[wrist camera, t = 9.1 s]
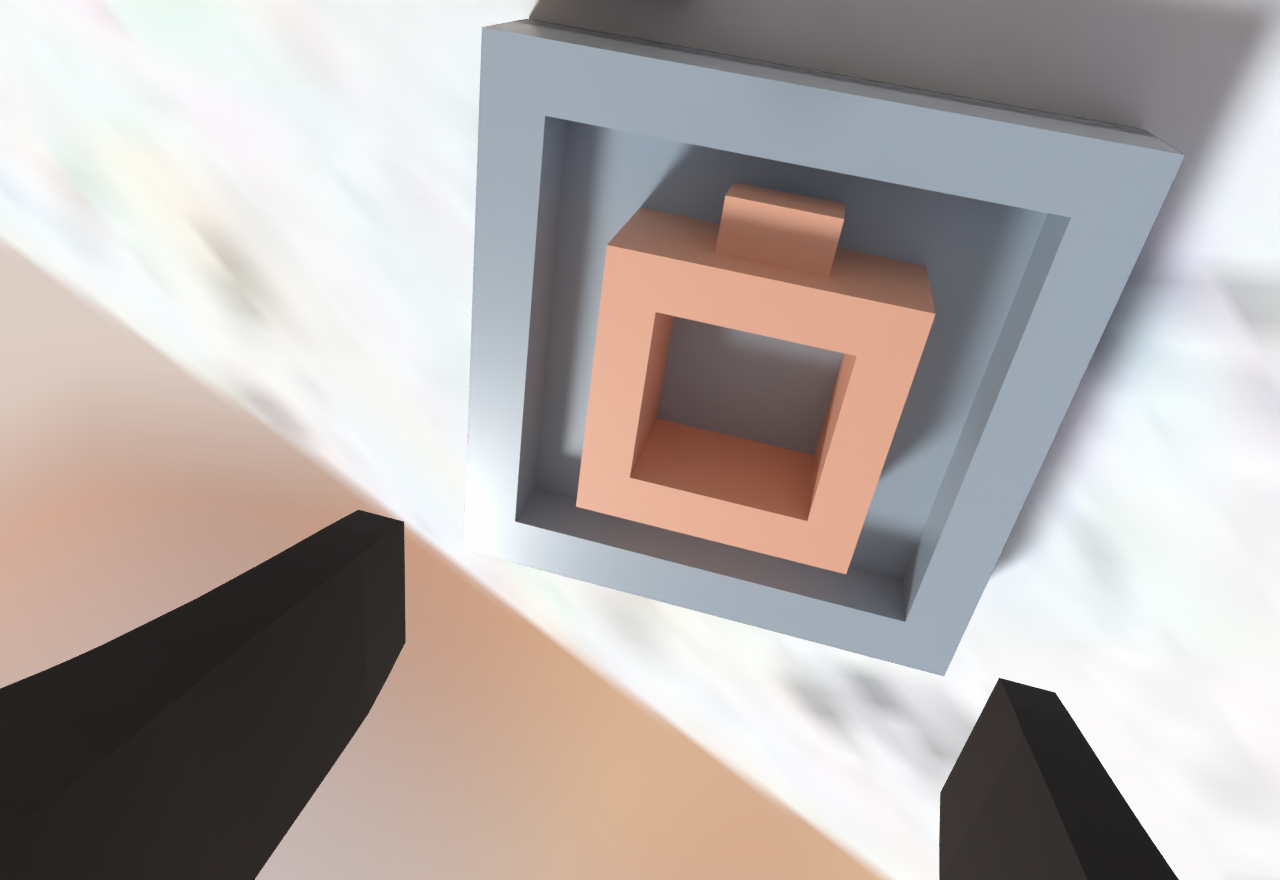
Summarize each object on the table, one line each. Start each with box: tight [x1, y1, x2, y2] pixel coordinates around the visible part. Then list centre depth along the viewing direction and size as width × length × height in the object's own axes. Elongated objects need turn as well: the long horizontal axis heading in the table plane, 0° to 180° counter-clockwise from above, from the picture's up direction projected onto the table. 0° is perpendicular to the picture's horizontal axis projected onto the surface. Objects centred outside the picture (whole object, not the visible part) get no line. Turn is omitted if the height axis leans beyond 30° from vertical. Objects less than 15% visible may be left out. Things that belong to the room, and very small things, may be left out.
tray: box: [464, 19, 1185, 676], centre depth 17 cm, size 11×11×2 cm
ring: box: [576, 182, 936, 574], centre depth 16 cm, size 6×6×2 cm
